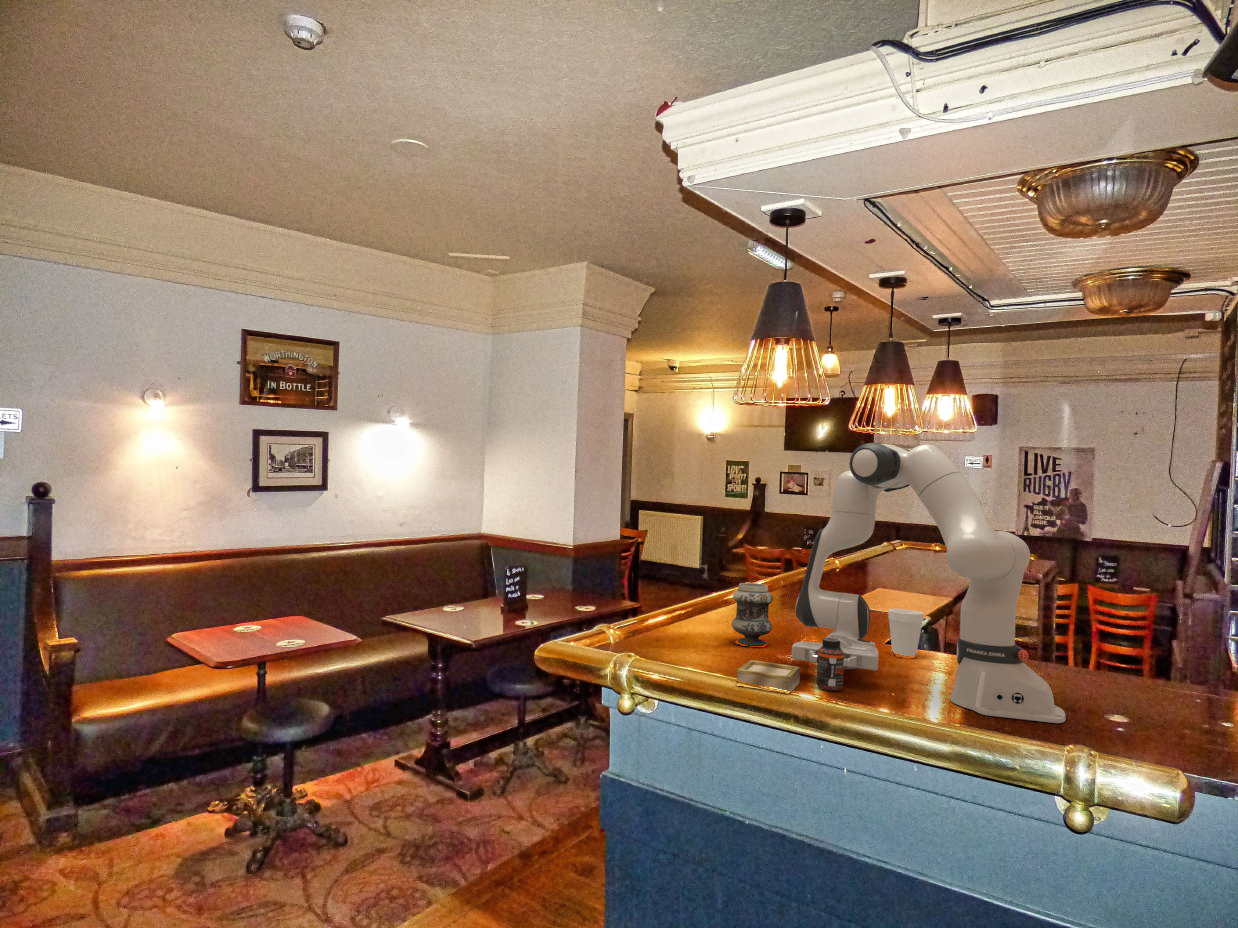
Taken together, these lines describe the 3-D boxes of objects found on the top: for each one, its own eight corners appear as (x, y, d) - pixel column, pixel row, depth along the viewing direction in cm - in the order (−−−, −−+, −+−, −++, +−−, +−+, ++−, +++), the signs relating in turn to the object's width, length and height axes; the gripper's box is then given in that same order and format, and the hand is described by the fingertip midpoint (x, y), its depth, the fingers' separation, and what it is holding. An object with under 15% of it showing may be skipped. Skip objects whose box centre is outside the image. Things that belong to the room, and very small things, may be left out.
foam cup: (924, 661, 207) (925, 615, 208) (890, 658, 209) (891, 612, 210) (917, 654, 217) (919, 610, 217) (884, 651, 218) (886, 607, 219)
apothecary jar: (758, 639, 227) (761, 581, 227) (779, 648, 215) (781, 587, 216) (723, 640, 223) (726, 581, 224) (742, 649, 211) (745, 586, 212)
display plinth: (799, 682, 175) (800, 666, 175) (788, 694, 164) (789, 677, 165) (750, 675, 180) (751, 659, 181) (736, 685, 170) (737, 669, 170)
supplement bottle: (839, 692, 167) (840, 642, 168) (813, 688, 170) (814, 639, 171) (845, 687, 172) (847, 639, 173) (820, 682, 175) (822, 635, 176)
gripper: (797, 633, 188) (785, 642, 175) (881, 643, 179) (875, 653, 167) (796, 657, 188) (785, 668, 175) (881, 669, 179) (874, 681, 166)
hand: (829, 661), depth 171 cm, fingers open, 6 cm apart
